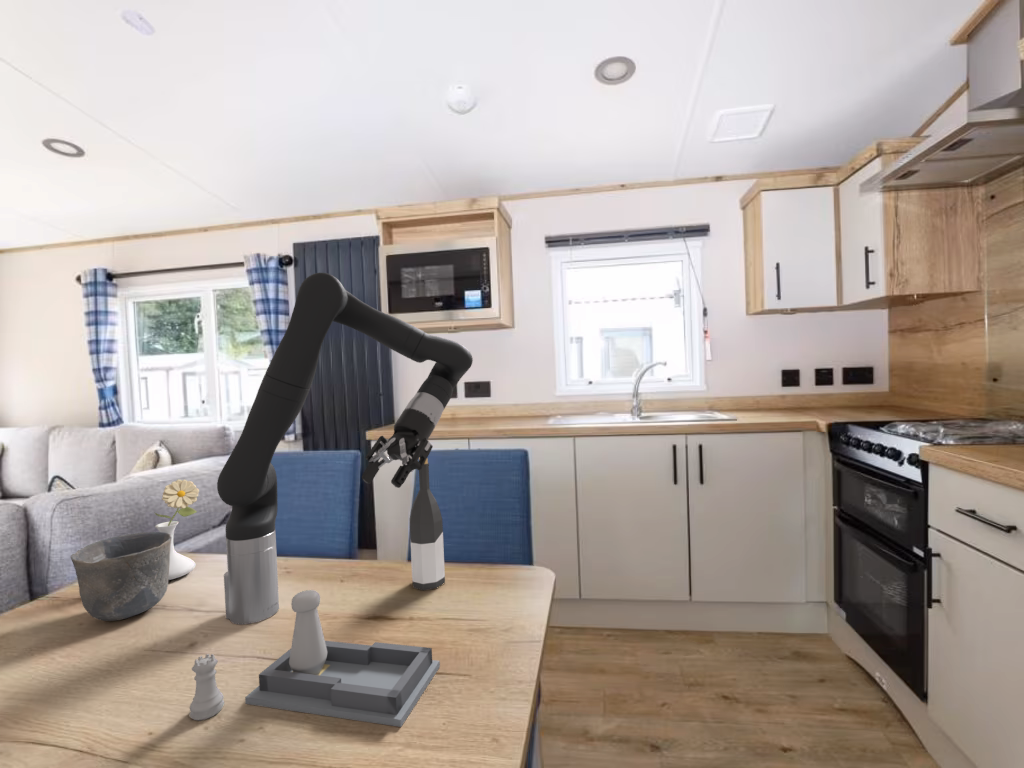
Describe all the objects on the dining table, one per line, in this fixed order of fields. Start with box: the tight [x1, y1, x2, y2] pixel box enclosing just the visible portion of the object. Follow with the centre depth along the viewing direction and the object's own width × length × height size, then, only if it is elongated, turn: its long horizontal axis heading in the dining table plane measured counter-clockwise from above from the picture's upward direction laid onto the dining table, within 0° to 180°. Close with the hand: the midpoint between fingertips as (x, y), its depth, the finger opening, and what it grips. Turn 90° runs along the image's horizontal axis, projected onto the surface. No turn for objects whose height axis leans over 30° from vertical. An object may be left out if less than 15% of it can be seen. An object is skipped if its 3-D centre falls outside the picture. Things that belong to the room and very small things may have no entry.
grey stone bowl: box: [70, 531, 172, 622], centre depth 105 cm, size 18×18×15 cm
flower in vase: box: [154, 479, 200, 581], centre depth 124 cm, size 13×11×25 cm
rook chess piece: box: [188, 653, 225, 722], centre depth 71 cm, size 4×4×8 cm
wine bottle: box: [409, 457, 446, 591], centre depth 113 cm, size 8×8×30 cm
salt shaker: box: [289, 589, 327, 675], centre depth 78 cm, size 6×6×13 cm
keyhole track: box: [244, 640, 441, 728], centre depth 76 cm, size 26×14×4 cm, turn 76°
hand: (379, 483), depth 92 cm, fingers open, 8 cm apart
